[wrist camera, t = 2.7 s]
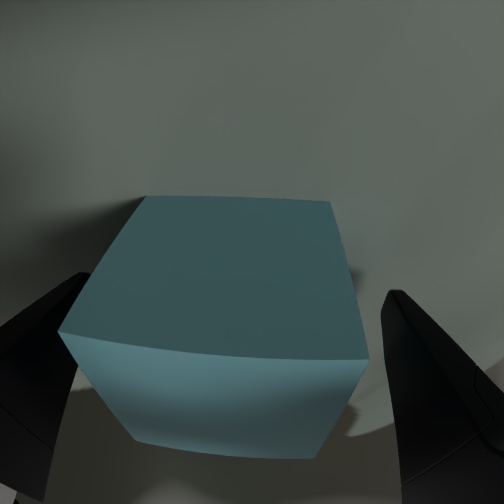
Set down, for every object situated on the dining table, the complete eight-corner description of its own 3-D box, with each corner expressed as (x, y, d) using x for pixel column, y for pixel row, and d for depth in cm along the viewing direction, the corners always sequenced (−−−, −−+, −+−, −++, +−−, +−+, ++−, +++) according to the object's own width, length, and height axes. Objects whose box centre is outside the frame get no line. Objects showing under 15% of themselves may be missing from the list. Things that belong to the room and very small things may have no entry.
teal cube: (329, 200, 8) (369, 359, 4) (308, 326, 11) (313, 458, 7) (147, 194, 9) (57, 331, 5) (171, 317, 11) (136, 440, 7)
